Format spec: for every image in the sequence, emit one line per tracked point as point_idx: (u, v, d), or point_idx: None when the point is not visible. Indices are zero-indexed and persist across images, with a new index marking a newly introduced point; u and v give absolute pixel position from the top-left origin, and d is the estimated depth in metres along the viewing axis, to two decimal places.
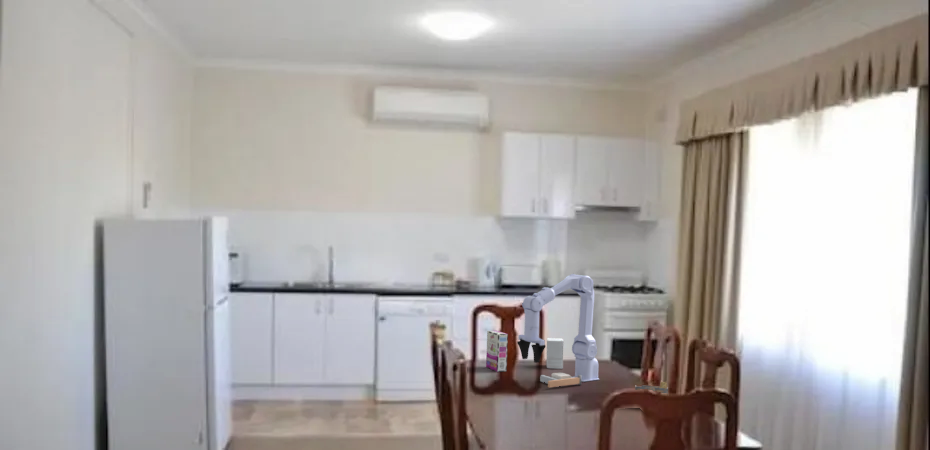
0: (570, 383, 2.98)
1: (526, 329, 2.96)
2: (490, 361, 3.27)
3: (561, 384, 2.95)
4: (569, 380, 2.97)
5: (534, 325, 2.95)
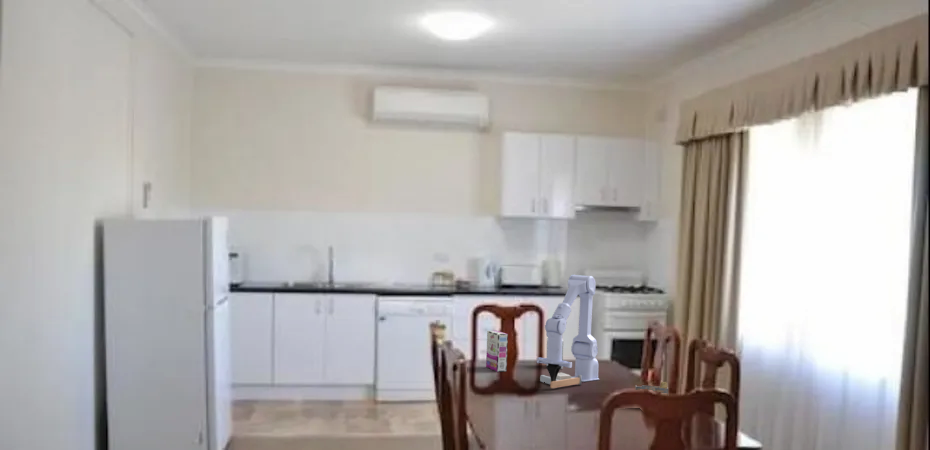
0: (571, 383, 2.97)
1: (551, 352, 2.91)
2: (490, 361, 3.27)
3: (563, 384, 2.94)
4: (570, 380, 2.97)
5: (559, 348, 2.91)
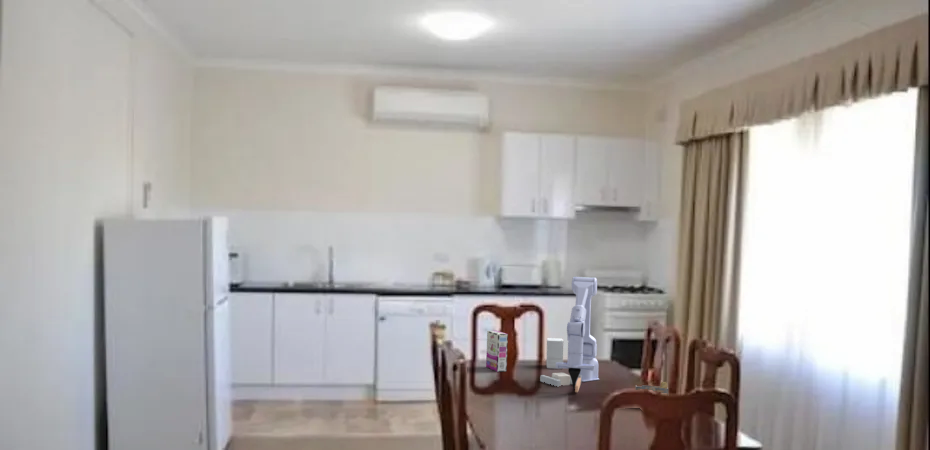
0: None
1: (575, 356, 2.84)
2: (490, 361, 3.27)
3: None
4: None
5: (582, 351, 2.85)
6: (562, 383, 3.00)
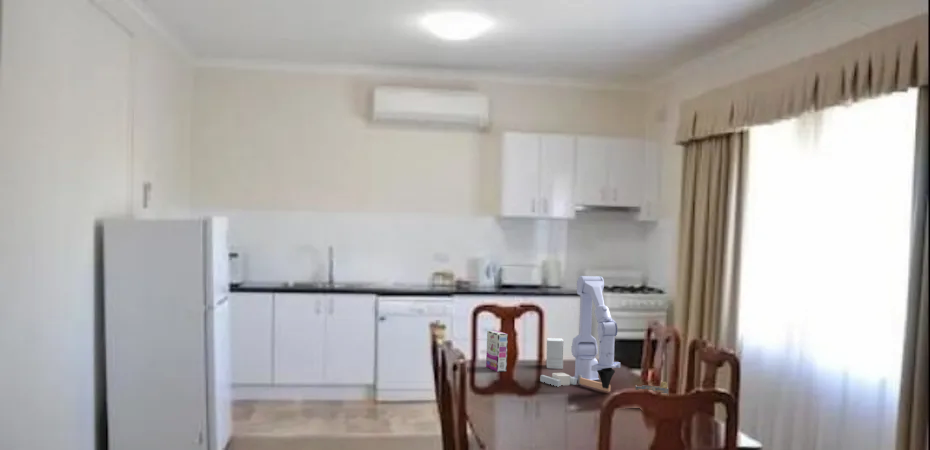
0: None
1: (612, 356, 2.86)
2: (490, 361, 3.27)
3: None
4: None
5: None
6: (561, 383, 3.00)
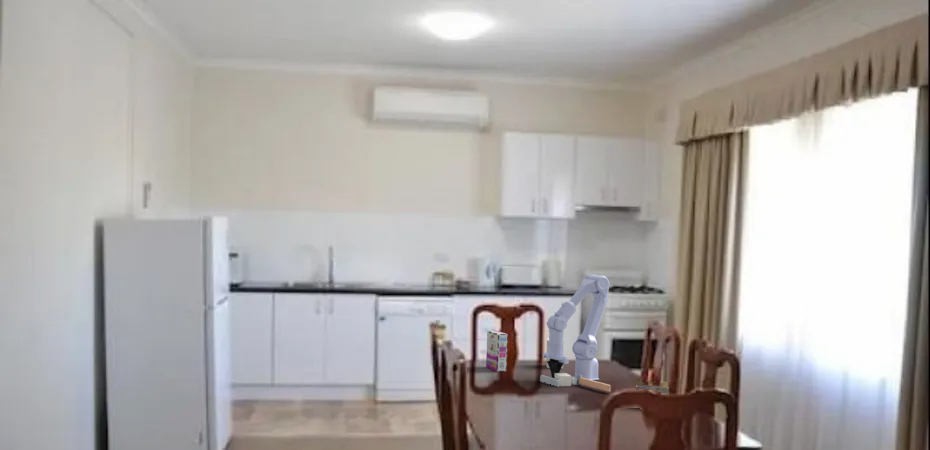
0: None
1: (550, 348, 3.04)
2: (490, 361, 3.27)
3: None
4: None
5: (558, 344, 3.03)
6: (563, 383, 2.99)
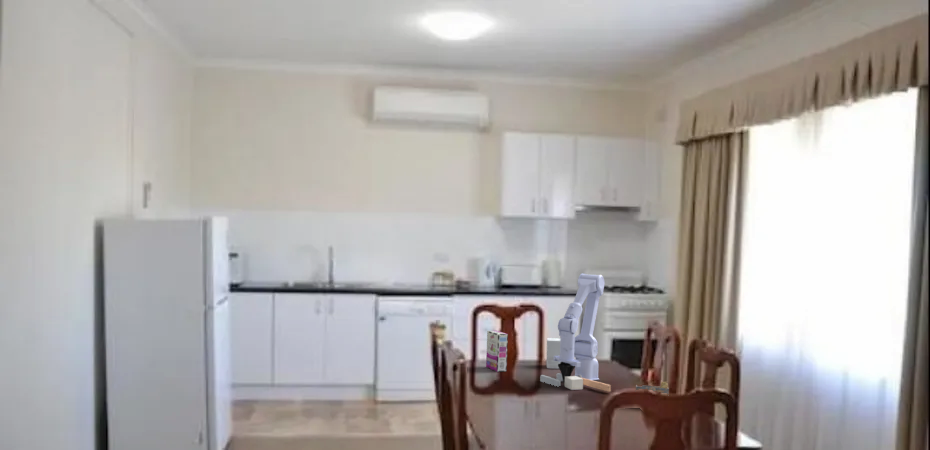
0: None
1: (562, 351, 2.98)
2: (490, 361, 3.27)
3: None
4: None
5: (572, 347, 2.98)
6: (575, 387, 2.93)
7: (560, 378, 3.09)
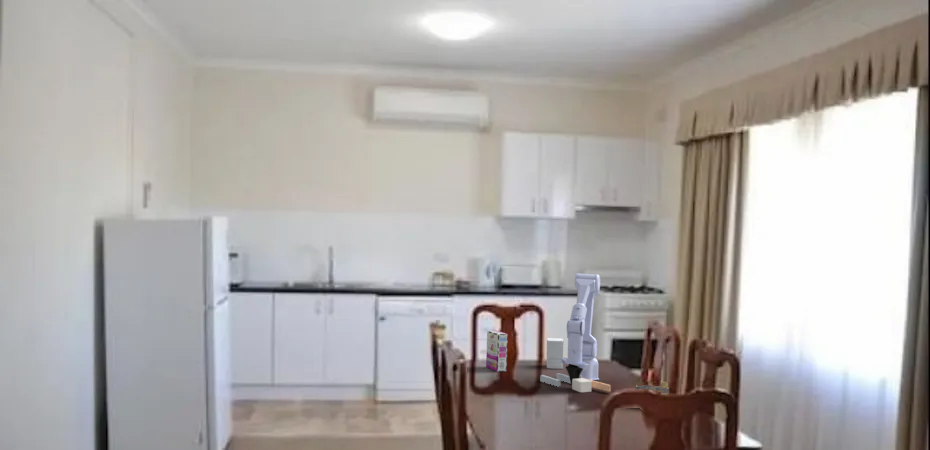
0: None
1: (569, 353, 2.94)
2: (490, 361, 3.27)
3: None
4: None
5: (581, 348, 2.94)
6: (584, 389, 2.89)
7: (560, 378, 3.09)
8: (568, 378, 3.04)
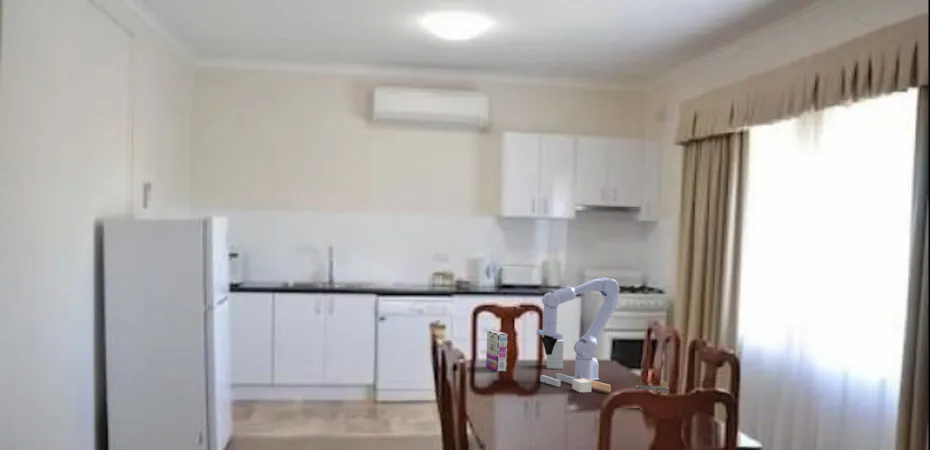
0: None
1: (544, 324, 3.08)
2: (490, 361, 3.27)
3: None
4: None
5: (550, 320, 3.07)
6: (583, 390, 2.89)
7: (560, 378, 3.09)
8: (568, 378, 3.04)
